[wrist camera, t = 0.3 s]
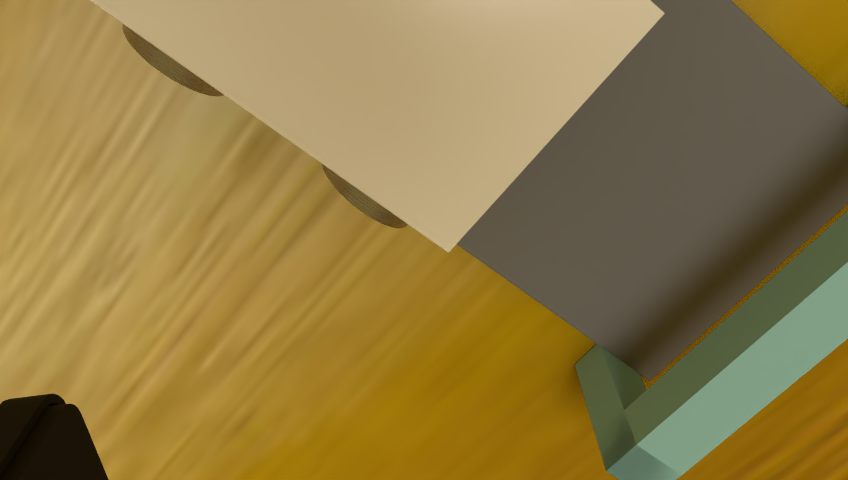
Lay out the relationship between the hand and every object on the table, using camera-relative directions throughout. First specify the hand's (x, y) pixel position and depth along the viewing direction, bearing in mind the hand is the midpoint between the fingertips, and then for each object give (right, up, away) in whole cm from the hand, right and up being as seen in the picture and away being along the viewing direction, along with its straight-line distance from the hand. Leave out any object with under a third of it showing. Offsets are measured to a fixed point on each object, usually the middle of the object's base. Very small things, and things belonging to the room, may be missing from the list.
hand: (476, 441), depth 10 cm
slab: (-2, +12, +21) cm, 24 cm away
